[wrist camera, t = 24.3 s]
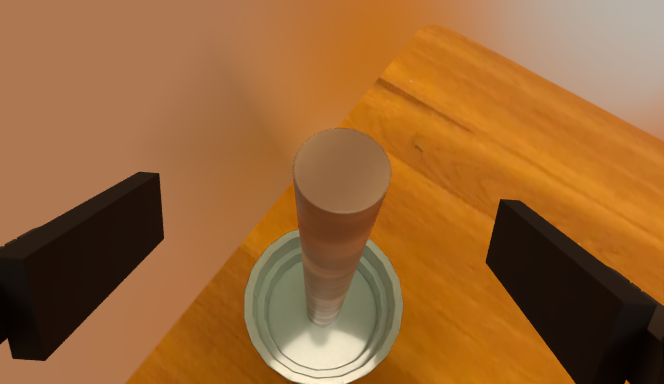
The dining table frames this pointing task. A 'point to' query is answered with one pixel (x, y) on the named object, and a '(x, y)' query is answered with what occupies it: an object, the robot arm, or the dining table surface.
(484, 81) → the dining table surface
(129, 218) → the robot arm
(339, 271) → the stick
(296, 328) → the bowl
